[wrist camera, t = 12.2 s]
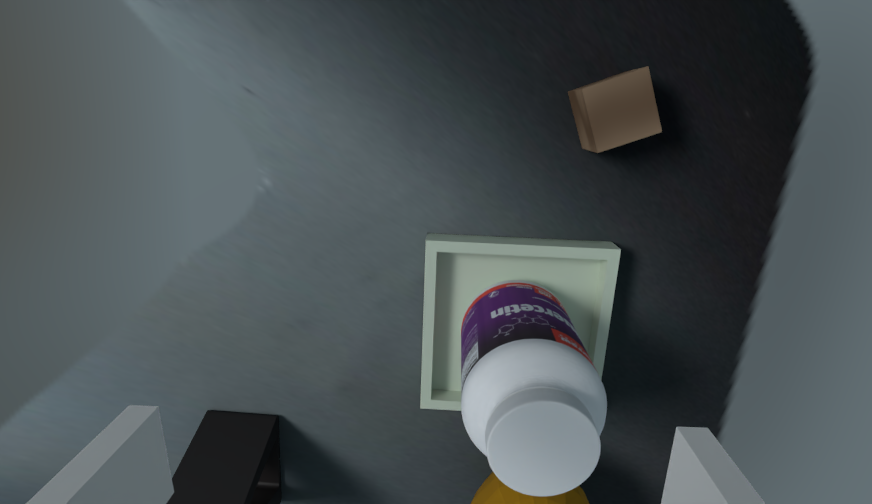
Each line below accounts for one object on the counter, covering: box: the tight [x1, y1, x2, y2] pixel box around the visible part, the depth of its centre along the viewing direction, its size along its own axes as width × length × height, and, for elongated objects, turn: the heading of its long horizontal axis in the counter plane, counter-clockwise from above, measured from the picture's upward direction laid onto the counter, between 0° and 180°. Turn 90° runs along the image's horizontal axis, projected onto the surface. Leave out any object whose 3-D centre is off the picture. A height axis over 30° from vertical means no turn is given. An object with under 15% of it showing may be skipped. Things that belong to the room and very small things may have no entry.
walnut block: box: [568, 66, 662, 153], centre depth 32 cm, size 4×4×4 cm
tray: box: [420, 233, 621, 411], centre depth 37 cm, size 14×14×2 cm
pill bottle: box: [461, 280, 607, 496], centre depth 31 cm, size 8×8×14 cm
